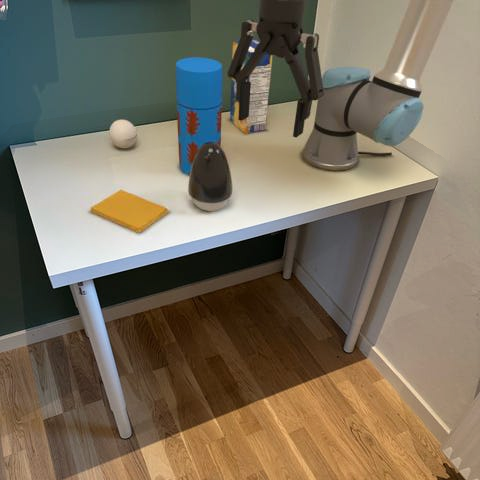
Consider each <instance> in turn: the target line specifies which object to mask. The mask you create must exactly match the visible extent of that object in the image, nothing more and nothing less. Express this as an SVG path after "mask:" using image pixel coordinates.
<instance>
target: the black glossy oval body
mask: <svg viewBox="0 0 480 480" xmlns="http://www.w3.org/2000/svg"><path fill="white" fill-rule="evenodd" d="M232 179H233V178H232V173H231V168H230V165H229V161H228V158H227V155H226V152H225V151H224V149H223V148H222V145H221V146H220V145H219V144H217V143H215V142H206V143H204V144H202V145H201V146H200V148H199V149H198V151H197V153H196V155H195V158H194V161H193V164H192V168H191V172H190V176H189V177H188V186H187V190H188V191H187V192H188V195H189V196H190V199H191V201H192V203H193V204H194V205H195V206H196V207H197V208H198V209H201V210H203V211H208V212H215V211H219V210H221V209H223V208H224V207H226V205H227V204H228V203H229V201H230V198H231V197H232V195H233V180H232Z"/></svg>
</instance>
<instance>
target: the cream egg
mask: <svg viewBox="0 0 480 480" xmlns="http://www.w3.org/2000/svg"><path fill="white" fill-rule="evenodd" d="M108 131H109V133H108V134H109V138H110V141H111V142H112V144H114V145H115V146H116V147H117V148H119V149H128V148H131V147H132V146H134V144H135V143H136V141H137V139H138V133H137V129H136V127H135V126H134V124H133V123H132V122H130V121H129V120H127V119H117V120H115V121H113V122H112V124H111V125H110V127H109V130H108Z"/></svg>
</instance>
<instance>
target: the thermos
mask: <svg viewBox="0 0 480 480" xmlns="http://www.w3.org/2000/svg"><path fill="white" fill-rule="evenodd" d="M223 74H224V73H223V64H222V63H221V62H220V61H219V60H215V59H213V58H208V57H198V56H197V57H186V58H183V59H179V60H178V61H176V63H175V93H176V120H177V145H178V146H177V147H178V159H179V160H178V162H179V169H180V171H181V173H183V174H185V175H187V176H189V177H190V172H191V168H192V164H193V161H194V158H195V155H196V153H197V151H198V149H199V148H200V146H201V145H202V144H204V143H206V142H215V143H217V144H219V145H220V146H221V147H222V119H223V118H222V117H223V116H222V114H223V76H224V75H223Z"/></svg>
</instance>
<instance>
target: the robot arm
mask: <svg viewBox="0 0 480 480" xmlns="http://www.w3.org/2000/svg"><path fill="white" fill-rule="evenodd" d="M454 1H455V0H409V2H408V5H407V7H406V10H405V12H404V15H403V17H402V20H401V23H400V26H399V28H398V30H397V32H396V36H395V38H394V41H393V44H392V46H391V49H390V51H389V53H388V56H387V59H386V62H385V64H384V67H383V68H382V69H381V70H379V71H377V72H375V73H374V75H373V77H372V76H371V71H370V70H369V69H367V68H364V67H359V66H336V67H332V68H331V67H330V68H329V69H326V70H325V71H324V73H323V74H322V69H321V62H320V57H319V49H318V48H319V42H320V34H318V33H316V32H315V33H313V34H310V33H304V30H303V23H304V18H305V11H306V4H307V0H259V6H258V18H259V19H258V22H255V20H254V19H249V20H245V21H243V22H242V23H241V28H240V29H241V32H240V37H239V40H238V41H239V43H238V46H237V48H236V51H235V54H234V57H233V59H231V63H230V65H229V68H228V71H227V76H228V78H230V79H232V78H233V79H235V80H236V83H237V88H236V99H237V100H238V101H239V117H238V120H240V121H242V120H244V119H246V118H247V117H249V104H250V90H251V82H249V81H247V82H246V80H247V79H249V78H248V77H249V76H250V75H251V73H252V72H253V71H254V69H255V68H256V66H257V65H258V64H259V62H260V61H261V59H262V58H263V57H264V55H265V54H266V53H267V54H268V55H273V56H275V57H277V58H279V59H284V61H285V63H286V64H287V65H288V66H289V69H290V72H291V75H292V77H293V79H294V81H295V85H296V86H297V89H298V92H299V94H300V98H299V99H298V100H297V103H296V109H295V111H296V112H295V119H294V126H293V132H292V137H293V138H298V137H299V136H301V135H302V134H304V127H305V121H306V120H307V119H309V118H310V116H311V110H312V106H313V102H315V101H316V102H317V103H316V110H315V117H314V123H313V128H312V130H311V132H310V134H309V135H308V138H307V140H306V142H305V144H304V146H303V151H302V158H303V160H304V161H305V162H306V163H307V164H309V165H310V166H312V167H315V168H317V169H320V170H325V171H330V172H331V171H332V172H339V171H346V170H349V169H352V168H354V167H355V166H356V165H357V164H358V163H357V162H358V160H359V155H362V156H373V157H386V156H392V155H393V152H373V151H371V152H370V151H359V148H358V146H359V145H358V135H357V134H360V135H361V136H364V137H366V138H368V139H370V140H372V141H374V143H377V144H381V145H384V146H387V147H395V146H397V145H400V144H402V143H403V142H404V141H405V140H407V138H409V137H410V136H411V135H412V133H413V132H414V130H415V129H416V127H418V125H419V123H420V121H421V119H422V116H423V114H424V103H423V101H422V100H421V99H420V97H421V94H422V92H423V88H422V85H421V83H420V82H421V77H422V76H423V73H424V71H425V68H426V66H427V64H428V61H429V59H430V56H431V54H432V52H433V50H434V47H435V45H436V42H437V41H438V38H439V36H440V33H441V31H442V29H443V26H444V24H445V22H446V19H447V17H448V15H449V13H450V10H451V8H452V5H453V4H454ZM256 34H257V37H258V39H259V42H260V43H259V44H258V45H257V47H256V48H255V50H254V53H253V54H252V56H251V57H250V58H249V60H248V61H247V63H246V64H245V66H244V67H243V68H242V65H243V63H244V60H245V58H246V55H247V52H248V50H249V47H250V45H251V42H252V39H254V36H255V35H256ZM301 43H302V48H303V49H304V56H305V57H304V58H305V62H306V69H307V71H306V69H305V66H304V64H303V63H304V62H303V60H302V54H301V51H300V49H299V45H300V44H301ZM241 68H242V70H241ZM371 77H372V80H370V79H371Z"/></svg>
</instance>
